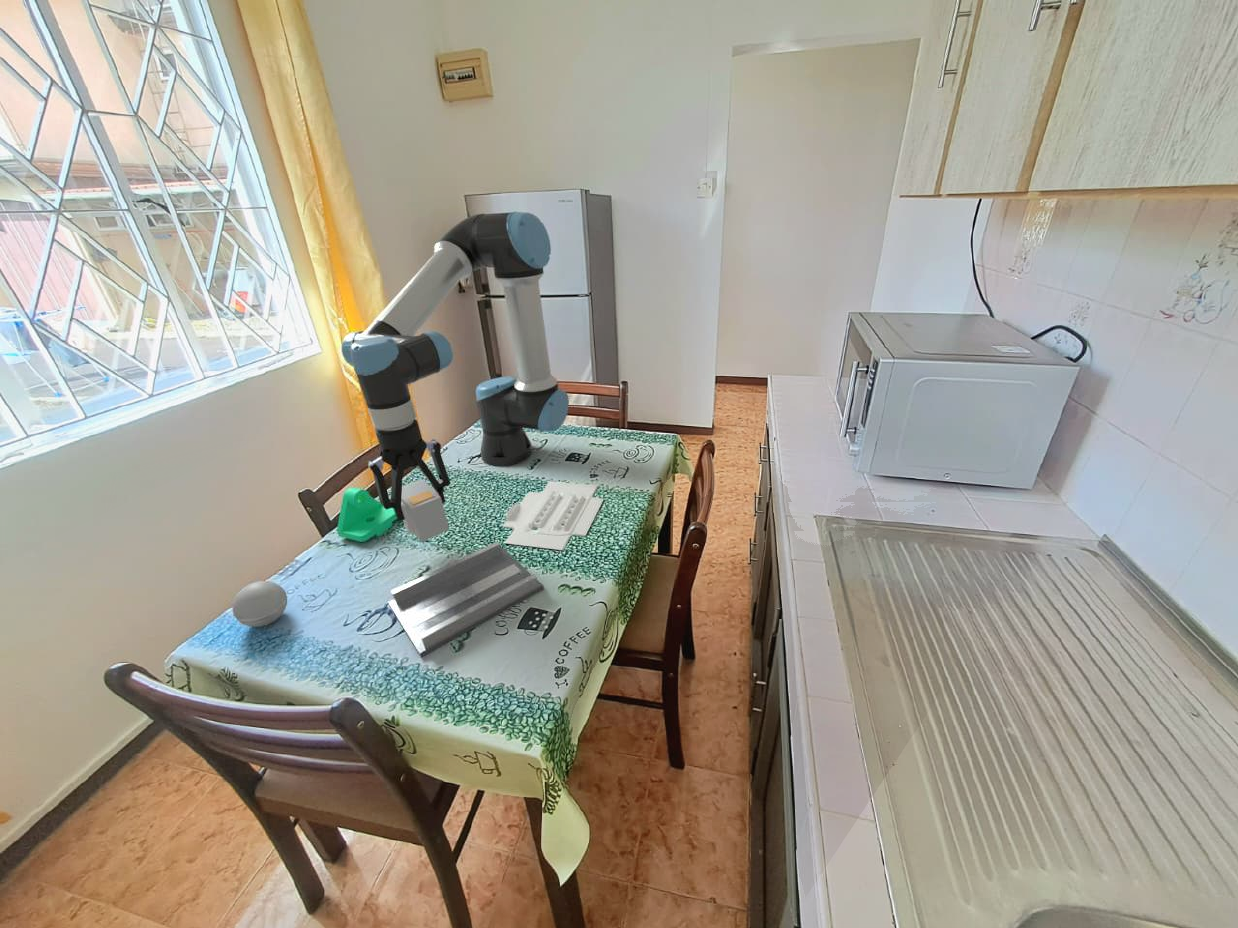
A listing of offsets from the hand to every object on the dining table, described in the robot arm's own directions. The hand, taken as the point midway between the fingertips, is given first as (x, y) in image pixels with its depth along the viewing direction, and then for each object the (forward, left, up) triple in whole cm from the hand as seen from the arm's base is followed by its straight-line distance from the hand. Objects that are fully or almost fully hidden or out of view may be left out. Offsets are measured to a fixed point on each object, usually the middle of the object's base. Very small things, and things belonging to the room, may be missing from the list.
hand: (425, 523), depth 102 cm
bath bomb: (+31, -2, -8) cm, 32 cm away
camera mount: (+7, -20, -8) cm, 22 cm away
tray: (-28, +5, -9) cm, 30 cm away
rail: (+1, +18, -8) cm, 20 cm away
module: (0, 0, 0) cm, 0 cm away
